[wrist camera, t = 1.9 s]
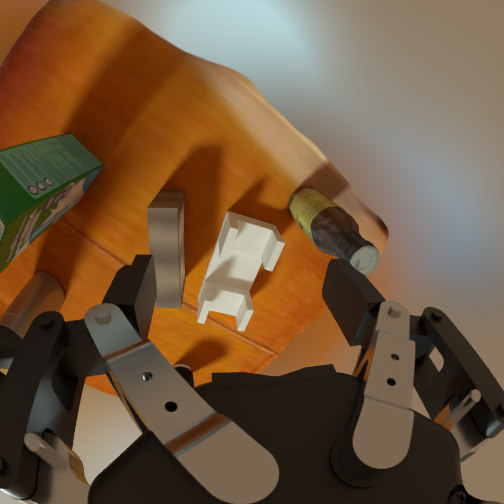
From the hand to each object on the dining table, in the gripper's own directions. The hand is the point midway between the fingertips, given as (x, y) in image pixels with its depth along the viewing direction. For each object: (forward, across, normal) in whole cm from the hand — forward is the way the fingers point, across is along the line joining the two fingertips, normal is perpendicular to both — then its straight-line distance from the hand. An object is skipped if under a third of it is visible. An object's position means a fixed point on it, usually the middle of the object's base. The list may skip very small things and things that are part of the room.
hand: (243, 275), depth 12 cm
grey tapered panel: (+32, +7, +12) cm, 35 cm away
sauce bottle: (+32, -15, +5) cm, 35 cm away
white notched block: (+32, -3, +17) cm, 36 cm away
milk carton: (+32, +25, 0) cm, 41 cm away
